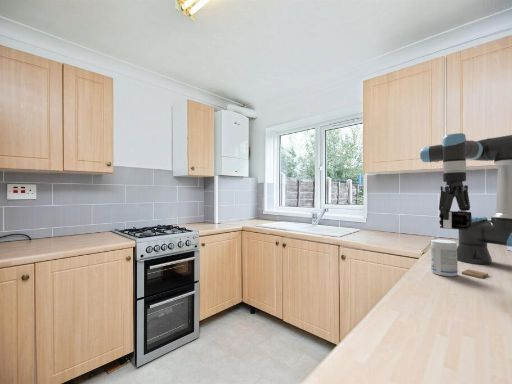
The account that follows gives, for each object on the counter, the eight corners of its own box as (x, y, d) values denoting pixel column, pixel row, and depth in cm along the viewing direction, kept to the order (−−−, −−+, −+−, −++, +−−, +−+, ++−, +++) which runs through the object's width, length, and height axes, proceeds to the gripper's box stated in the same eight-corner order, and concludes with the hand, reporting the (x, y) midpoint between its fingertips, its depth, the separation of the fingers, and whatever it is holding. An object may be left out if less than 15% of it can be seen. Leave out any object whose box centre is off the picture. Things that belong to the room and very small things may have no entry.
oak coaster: (468, 271, 118) (468, 269, 118) (488, 275, 112) (488, 273, 112) (461, 273, 114) (461, 271, 114) (481, 278, 108) (481, 276, 108)
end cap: (472, 228, 104) (471, 211, 104) (469, 230, 99) (469, 212, 99) (442, 225, 111) (441, 210, 111) (438, 227, 106) (438, 211, 106)
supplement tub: (461, 274, 113) (461, 241, 113) (452, 278, 108) (452, 244, 108) (436, 269, 122) (436, 238, 121) (427, 272, 116) (427, 240, 116)
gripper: (460, 172, 112) (461, 223, 112) (427, 172, 104) (428, 227, 104) (480, 171, 105) (481, 226, 105) (446, 171, 97) (447, 230, 97)
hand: (455, 226), depth 105 cm, fingers closed on end cap, 9 cm apart
